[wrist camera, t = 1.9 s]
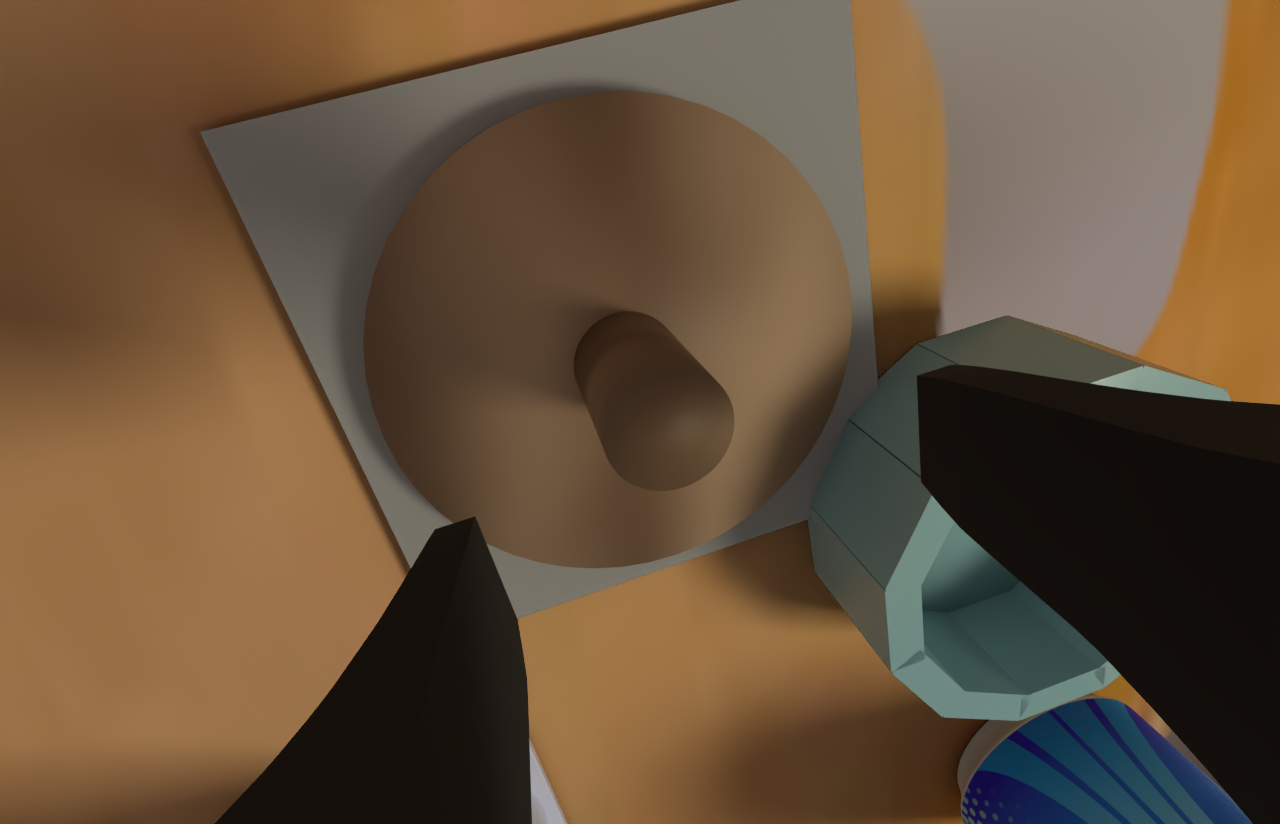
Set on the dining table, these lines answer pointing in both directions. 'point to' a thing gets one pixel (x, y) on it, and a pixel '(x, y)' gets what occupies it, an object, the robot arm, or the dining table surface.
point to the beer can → (1085, 772)
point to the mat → (485, 95)
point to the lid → (607, 329)
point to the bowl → (957, 538)
